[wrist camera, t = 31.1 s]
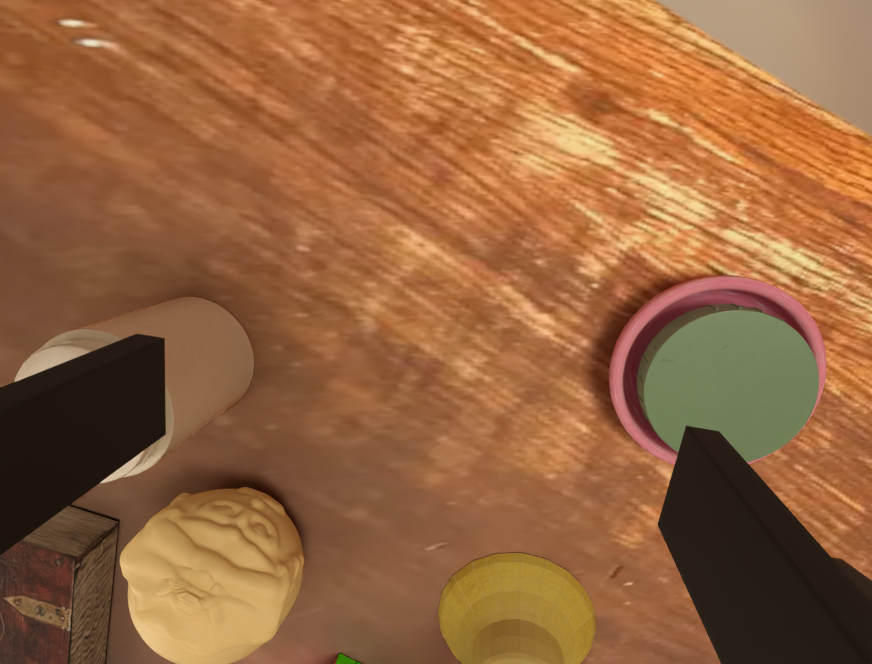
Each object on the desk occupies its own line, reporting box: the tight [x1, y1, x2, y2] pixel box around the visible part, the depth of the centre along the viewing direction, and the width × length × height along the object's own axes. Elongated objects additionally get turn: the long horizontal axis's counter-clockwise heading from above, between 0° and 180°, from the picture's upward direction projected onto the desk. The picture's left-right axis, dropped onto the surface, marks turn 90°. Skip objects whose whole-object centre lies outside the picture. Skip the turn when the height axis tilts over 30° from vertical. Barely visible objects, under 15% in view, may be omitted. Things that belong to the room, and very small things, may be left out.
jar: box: [14, 297, 254, 483], centre depth 34 cm, size 9×9×12 cm
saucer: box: [609, 275, 826, 465], centre depth 34 cm, size 12×12×3 cm
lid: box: [636, 303, 819, 462], centre depth 31 cm, size 10×10×2 cm
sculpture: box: [120, 487, 305, 664], centre depth 38 cm, size 11×12×11 cm
